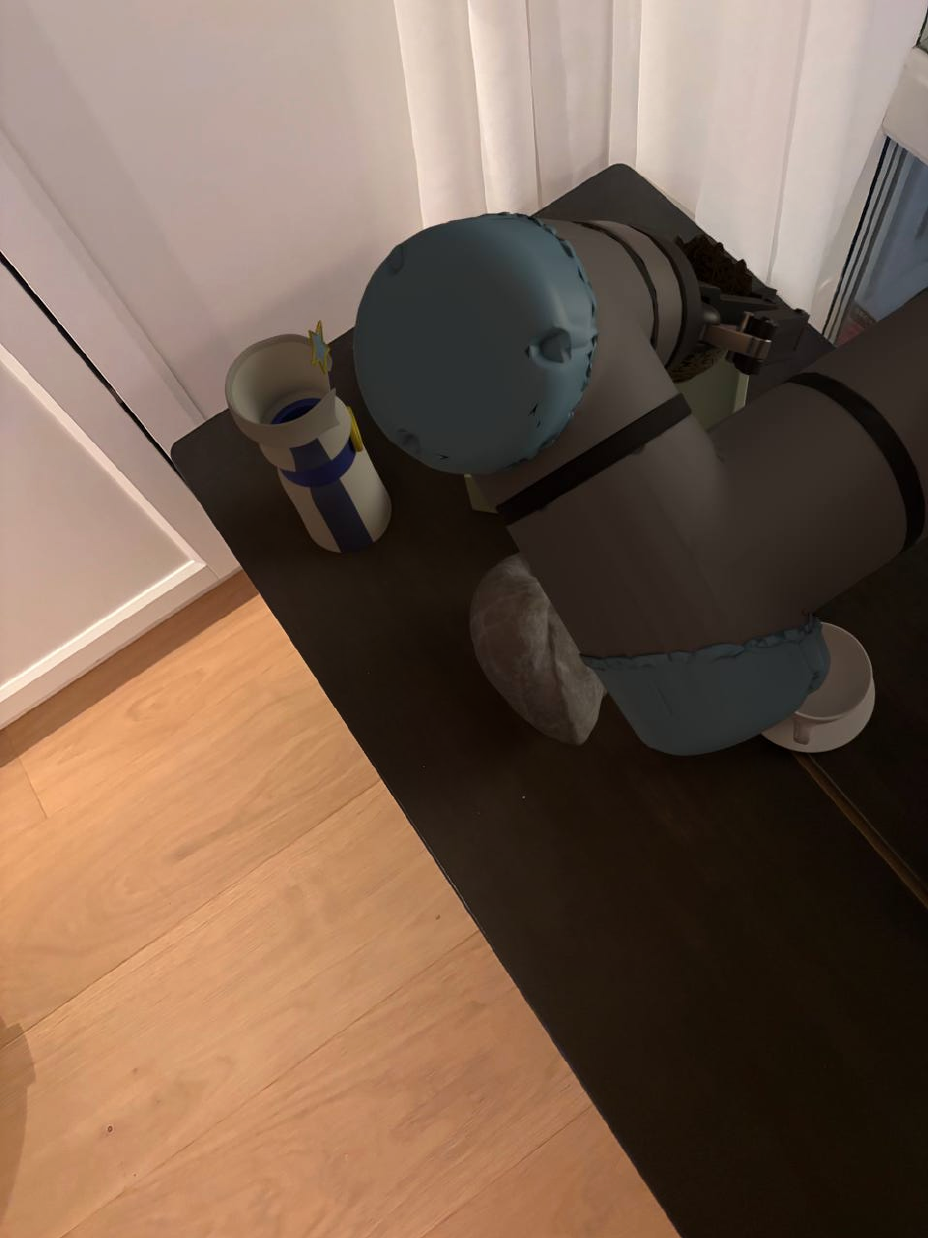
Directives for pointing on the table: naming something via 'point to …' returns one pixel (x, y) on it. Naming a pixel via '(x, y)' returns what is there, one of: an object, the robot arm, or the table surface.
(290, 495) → the white blue vase
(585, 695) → the decorative stone
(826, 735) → the teacup
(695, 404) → the bin
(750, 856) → the table surface
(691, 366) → the dark brown hollow vessel
